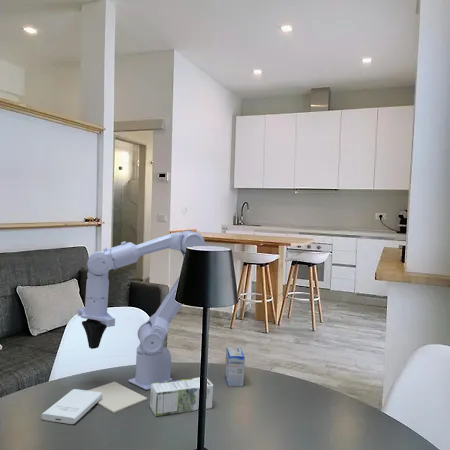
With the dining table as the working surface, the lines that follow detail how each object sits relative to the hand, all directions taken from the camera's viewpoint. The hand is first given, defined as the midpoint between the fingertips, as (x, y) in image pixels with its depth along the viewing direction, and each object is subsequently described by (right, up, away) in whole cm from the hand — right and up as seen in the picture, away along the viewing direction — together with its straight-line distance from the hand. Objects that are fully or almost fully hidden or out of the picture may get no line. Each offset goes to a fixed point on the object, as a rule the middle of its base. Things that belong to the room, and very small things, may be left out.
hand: (93, 347), depth 109 cm
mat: (+7, -11, -5) cm, 14 cm away
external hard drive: (-1, -11, -13) cm, 17 cm away
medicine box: (+38, -12, +8) cm, 40 cm away
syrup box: (+18, -9, -12) cm, 23 cm away
